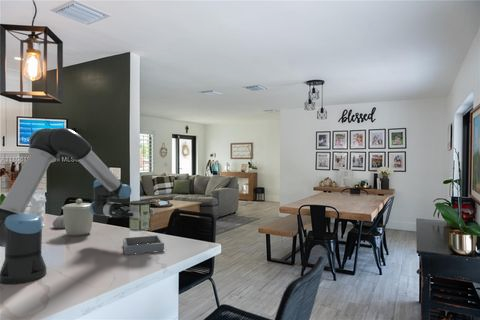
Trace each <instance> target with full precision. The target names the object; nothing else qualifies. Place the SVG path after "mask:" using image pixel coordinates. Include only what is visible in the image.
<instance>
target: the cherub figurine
mask: <svg viewBox="0 0 480 320" xmlns="http://www.w3.org/2000/svg"><path fill="white" fill-rule="evenodd" d="M30 203H31V204H30V206H29V210H28V214H33V215H37V216H39V217H40V218H41V222H42V228H44V227H45V224H44V223H45V222H44V220H45V215H44V213H45V209H44V205H45V203H47V198H46V196H45V195H41V194H40V195H38V196H35V195H33V197H32V198H31V200H30Z"/></svg>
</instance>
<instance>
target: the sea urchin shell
mask: <svg viewBox="0 0 480 320" xmlns="http://www.w3.org/2000/svg"><path fill="white" fill-rule="evenodd" d="M52 226H53V228H55V229H65V223H64V214H61V215H59V216H57V217H56V218H55V219H54V220H53V221H52Z"/></svg>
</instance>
